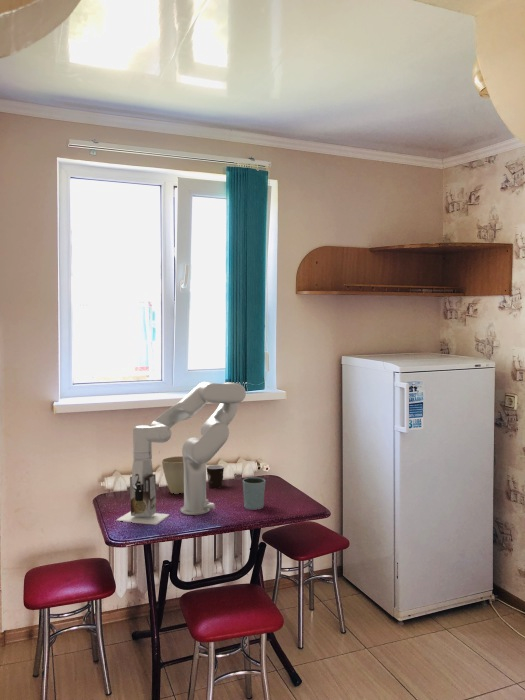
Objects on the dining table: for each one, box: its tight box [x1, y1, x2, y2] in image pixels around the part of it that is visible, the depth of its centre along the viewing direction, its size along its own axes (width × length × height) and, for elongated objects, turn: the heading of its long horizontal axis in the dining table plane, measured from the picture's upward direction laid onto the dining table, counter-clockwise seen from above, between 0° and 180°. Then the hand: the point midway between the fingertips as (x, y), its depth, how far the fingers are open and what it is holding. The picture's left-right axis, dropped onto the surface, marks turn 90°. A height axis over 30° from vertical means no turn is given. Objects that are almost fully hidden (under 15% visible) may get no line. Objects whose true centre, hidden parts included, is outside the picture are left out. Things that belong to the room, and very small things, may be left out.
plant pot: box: [161, 455, 184, 495], centre depth 279 cm, size 15×15×16 cm
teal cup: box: [242, 476, 266, 511], centre depth 254 cm, size 10×10×12 cm
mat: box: [116, 510, 170, 526], centre depth 239 cm, size 18×12×1 cm, turn 74°
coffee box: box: [129, 473, 157, 517], centre depth 239 cm, size 9×6×16 cm
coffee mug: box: [206, 464, 225, 489], centre depth 286 cm, size 12×9×10 cm
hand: (143, 497), depth 239 cm, fingers closed on coffee box, 6 cm apart
